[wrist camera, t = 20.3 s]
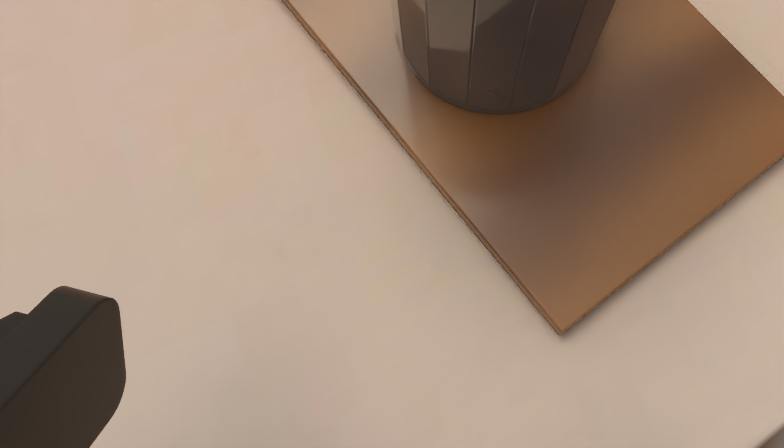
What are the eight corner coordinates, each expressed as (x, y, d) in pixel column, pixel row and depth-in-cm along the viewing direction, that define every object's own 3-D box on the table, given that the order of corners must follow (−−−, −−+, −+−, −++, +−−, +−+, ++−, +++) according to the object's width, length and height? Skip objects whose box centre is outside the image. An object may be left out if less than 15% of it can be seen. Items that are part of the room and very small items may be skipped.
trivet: (806, 136, 21) (817, 128, 20) (559, 335, 20) (562, 333, 19) (449, -225, 24) (449, -240, 24) (226, -67, 23) (220, -79, 23)
